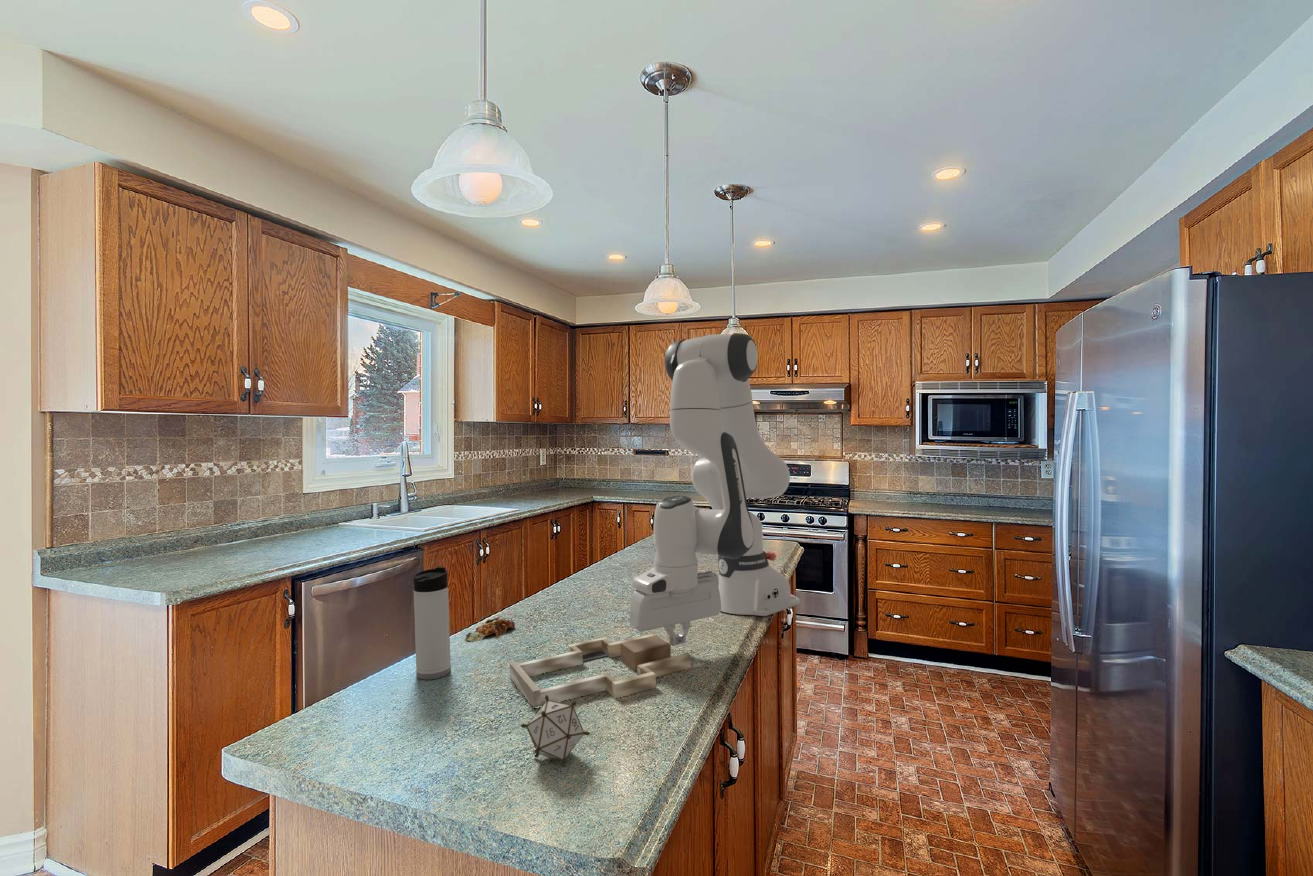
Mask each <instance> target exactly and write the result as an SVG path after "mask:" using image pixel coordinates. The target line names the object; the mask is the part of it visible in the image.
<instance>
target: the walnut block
mask: <svg viewBox="0 0 1313 876" xmlns="http://www.w3.org/2000/svg"><path fill="white" fill-rule="evenodd" d="M656 635H657V634H656ZM656 635H655V636H650V637H646V638H641V639H637V640H632V641H628V642H623V643H621V655H620V662H621V663H622V664H624V665H625V666H626V667H627V668H628V669H630V670H631V671H633V672H634V673H637V665H641V664H645V663H649V662H653V661H657V660H661V659H665V658H669V657H672V653H671V651H672V650H671V649H672V648H671V647H672V645H670V642H669V641H668V642H667V641H666V640H664V639H663V638H660V637H659V636H658V635H657V636H656Z"/></svg>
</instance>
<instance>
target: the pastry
mask: <svg viewBox="0 0 1313 876" xmlns="http://www.w3.org/2000/svg"><path fill="white" fill-rule="evenodd" d="M515 627H516V624H515V622H514V621H513V619H506V618H504V617H503V615H501V616H500V615H499V616H497V617H493V618H492V619H490V618H489V619H487V620H486V621H485V623H484V624H480V625H479V626H477V627H476V628H475V630H474V631H473V632H468V633H466V635H465V638H464V641H465V642H467V641H469V642H470V643H475V642H480V641H482V640H483V639H484V638H485V637H486V636H490V635H492V634H495V636H496V637H497V638H498V637H500V636H502V635H506V634H507V632H508V631H507V630H508V628H511V629H514V628H515Z"/></svg>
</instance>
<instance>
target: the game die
mask: <svg viewBox="0 0 1313 876" xmlns="http://www.w3.org/2000/svg"><path fill="white" fill-rule="evenodd" d="M548 697H549V696H547V695H545V700H546V702H545V703H544V705H543V706H542V707H541V708H539V710H538V711H537V712H536V713H535V714H534V716H533V717H532V718H531V719H530V720H529V722H527V724H526V723H523V724H520V727H521V728H522V729H525V728H526V729H527V732H528V735H529V737H530V739H531V741H532V743H533V745H534V748H535V749H534V758H535V757H538V758H539V756H544V757H546V758H547V757H548V758H551V759H555V760H559V761H562V765H563V764H566V763H567V761H566V759H567V758H568V756H569V754H570V753H571V752H572V751H573V750H574V748H575V747H576V745H577V744H578V743H579V741H580V740H581V738H582V737H583V736H584V735H585V736H589V735H591V733H590V732H589V731H585V730H584V728H583V726H582V723H581V721H580V719H579V716H578V714H577V711H576V709H575V706H576V704H577V700H575V701H572V703H571V704H568V703H564V702H555V701H550V700H549V698H548ZM566 765H567V764H566Z"/></svg>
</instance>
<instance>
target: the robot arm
mask: <svg viewBox="0 0 1313 876" xmlns="http://www.w3.org/2000/svg"><path fill="white" fill-rule="evenodd" d="M758 362H759V352H758V348H757V344H756V342H755V340H754V339H753V338H752V337H751V336H750V335H749V334H746V333H743V332H742V333H739V332H734V333H732V334H730V333H718V334H716V333H715V334H707V335H706V336H704V335H703V336H699V337H693V338H689V339H684V338H683V339H680V340H676V341H674V342H672V343H670V345H669V346H668V348H667V350H666V351H665V355H664V368H665V372H666V375H667V376H668V378H669V379H670V380H671V383H672V384H671V389H670V398H669V427H670V428H669V429H670V433H671V436H672V437H673V439H674V440H675V441H676V443H677V444H678V445H679V446H680V447H681V448H683V449H684V450H686V451H688V452H691V453H693V454H694V455H697V456H699V457H700V458H699V459H698V460H697V461H696V462H695V463H694V465H693V467H692V470H691V483H692V485H693V487H694V489H695V491H696V492H697V493H698V494H700V495H701V496H702V497H703V498H704V499H705V500H706V501H707V503H708V504H709V505H710V507H711V508H712V509H711V508H700V507H697V506H695V505H694V502H693V499H692V498H691V497H689V496H687V495H672V496H666V497H664V498H661V499H660V500H658V501H657V503H656V505H655V509H654V516H653V544H654V547H655V556H654V561H653V564H654V565H653V567H651V568H649V569H648V570H647V571H645V572H643V573H641V574H639V575H637V576H635V577H633V578H632V587H633V588H634V589H635V590H634V591H633V592H632V594H631V597H630V602H629V624H630V625H631V626H632V628H634V629H635V630H636V631H638V632H640V633H641V632H645V631H647V632H648V631H652V630H656V629H661V628H664V631H666V633H667V635H668V636H669V637H668V638H669V639H668V640H669V644H670V645H671V647H675V646H678V645H684V644H686V643H687V634H688V632H689V630H690V628H691V627H692V626H691V622H693V621H696V620H702V619H707V618H711V617H712V618H713V617H715V616H719V615H720V613H721V612H723V613H727V614H731V615H732V614H733V615H743V616H744V615H746V616H747V615H749V616H758V617H760V616H761V617H767V616H770V615H772V614H776V613H779V612H781V611H784V610H788V609H790V608H792V607H796V606H799V605H801V600H800V598H799V597H798V596H795V595H794V594H792V593H791V585H790V582H789V580H788V579H787V577H785V576H784V575H782V573H780V572H779V571H778V570H776V569H775V568H773V566H771V565H770V564H769V563H770V562H769V561H774V562H775V561H776V560H777V554H776V553H775V552H771V551H768V552H765V551H764V546H763V545H764V543H763V540H764V538H763V537H764V536H763V523H762V522H761V520H760V518H759V517H758V516H757V514H754V513H753V512H751V511H750V510H749V506H748V502H747V499H760V500H761V499H762V500H765V499H769V498H770V499H771V498H775V497H780V496H782V495H784V493H785V492H786V491H787V489H788V487H789V485H790V480H791V474H790V470H789V467H788V465H787V463H786V462H785V461H784V460H783V459H782V458H781V457H780V456H778V455H777V454H775V453H774V451H772V450H770V448H769V447H768V446H767V444H766V443H765V442H764V440H763V439H762V437H761V434H760V433H759V430H758V426H757V423H756V422H757V421H756V417H755V410H754V403H753V402H754V401H753V394H752V389H751V384H750V380H749V378H750V377H752V375H754V373H755V372H756V370H757V368H758ZM696 554H699V555H700V554H701V555H710V556H717V568H718V573H719V575H717V573H715V572H713V570H707V571H704V572H699V571H698V558H697V555H696ZM676 625H680V629H679V630H678V632H677V633H675V631H674V630H676Z"/></svg>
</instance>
